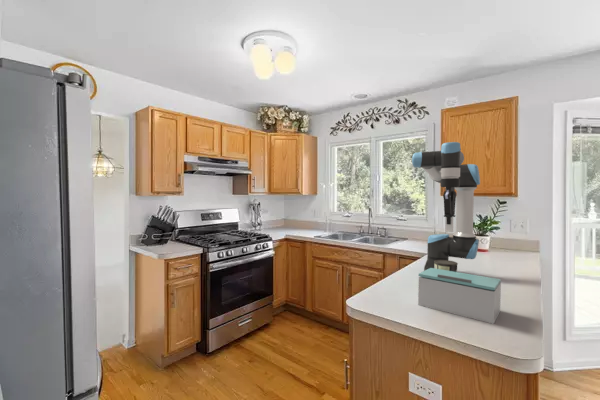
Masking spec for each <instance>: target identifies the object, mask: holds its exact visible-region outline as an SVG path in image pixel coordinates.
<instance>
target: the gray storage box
mask: <svg viewBox="0 0 600 400" xmlns="http://www.w3.org/2000/svg"><path fill="white" fill-rule="evenodd" d="M501 289H502V281H501V282H500V284H499V285H498V286H497V288H496V289H495V290H489V289H484V288H479V287H473V286H468V285H463V284H457V283H452V282H447V281H442V280H436V279H431V278H426V277H421V276H418V294H417V295H418V296H417V297H418V301H417V305H418V306H420V307H426V308H430V309H433V310H437V311H442V312H445V313H449V314H454V315H457V316H461V317H464V318H469V319H473V320H477V321H481V322H485V323H489V324H492V325H494V324H495V322H496V320H497V318H498V316H499V314H500V312H501V296H502V295H501V291H502V290H501Z"/></svg>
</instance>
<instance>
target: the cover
mask: <svg viewBox="0 0 600 400" xmlns="http://www.w3.org/2000/svg"><path fill="white" fill-rule="evenodd" d="M420 276H421V277H426V278H431V279H436V280H442V281H447V282H452V283H457V284H463V285H468V286H473V287H479V288H484V289H489V290H495V289H496V288H497V286H498V285H499V284H500V282H501V283H502V279H501V278H494V277H489V276H488V277H487V276H484V275H483V276H482V275H476V274H471V273H464V272H460V271H457V272H453V271H447V270H441V269H435V268H429V269H427V270H425V271H424V270H423V271H421V272H419V273H418V277H420Z"/></svg>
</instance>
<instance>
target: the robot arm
mask: <svg viewBox="0 0 600 400" xmlns="http://www.w3.org/2000/svg"><path fill="white" fill-rule="evenodd" d="M461 150H462V149H461V143H460V142H458V141H452V142H451V141H450V142H449V141H447V142H444V143H442V144H441V150H434V151H418V152H414V153H413V154H412V157H411V163H412V164H411V165H412V167H414V168H415V169H416V168H417V169H420V168H422V169H423V170H424V171H426V173H427V174H428V175H429V178H430V179H431V180H432V181H434V182H435V183H438V184H440V187H441V188H445V189H444V192H443V194H442V197H443V207H444V208H443V211H444V215H443V218H444V217H445V232H448V233H453V232H454V218H455V232H454V233H453V234H452V236H450V234H448V233H439V234H437V233H436V234H430V235H429V236H428V237H427V242H426V244H427V250H426V251H427V254H426V255H427V257H426V258H427V259H426V261H425V264H424V266H423V271H425V270H427V269H429V268H434V261H435V260H449V258H458V259H465V260H474V259H476V257H477V253H478V249H479V243H480V240H479V238H477V235H476V234H474V199H475V198H474V196H475V193H474V192H475V190H476V189H477V188H478V186H479V185H481V177H480V169H479V166H478V164H473V163H467V164H466V163H465V164H462V163H464V160H465V156H464V153H463V152H462V151H461ZM449 261H450V260H449Z"/></svg>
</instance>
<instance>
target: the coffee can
mask: <svg viewBox="0 0 600 400" xmlns="http://www.w3.org/2000/svg"><path fill="white" fill-rule="evenodd" d="M458 264H459V263H458V262H456V261H453V260H435V261H434V268H435V269H441V270H447V271H453V272H458Z"/></svg>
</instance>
